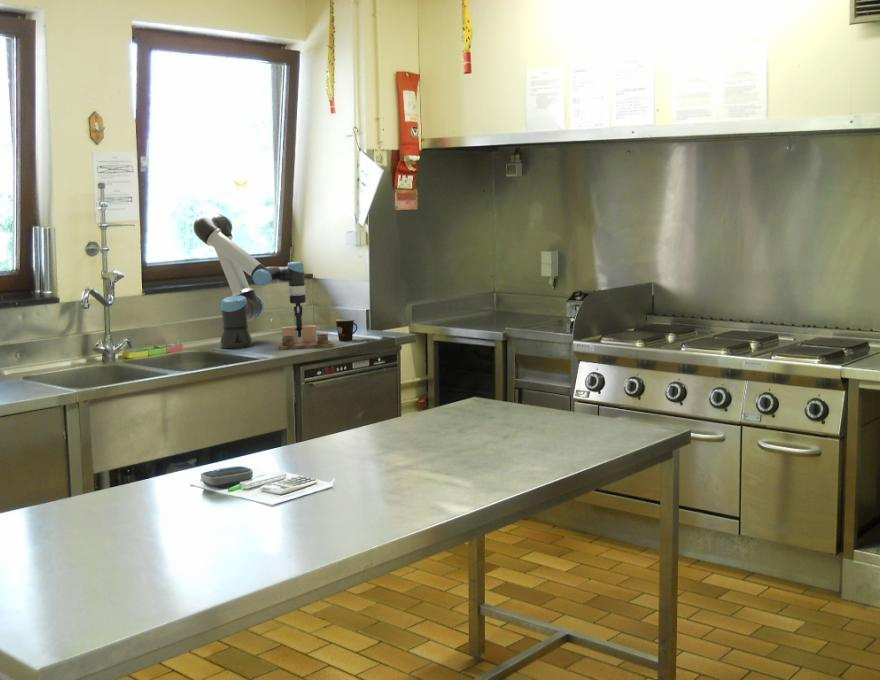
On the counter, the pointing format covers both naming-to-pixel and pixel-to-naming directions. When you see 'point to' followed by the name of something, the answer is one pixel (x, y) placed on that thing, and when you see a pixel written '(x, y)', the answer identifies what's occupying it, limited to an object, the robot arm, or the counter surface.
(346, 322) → the coffee mug
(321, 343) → the drying rack
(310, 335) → the clay bar
